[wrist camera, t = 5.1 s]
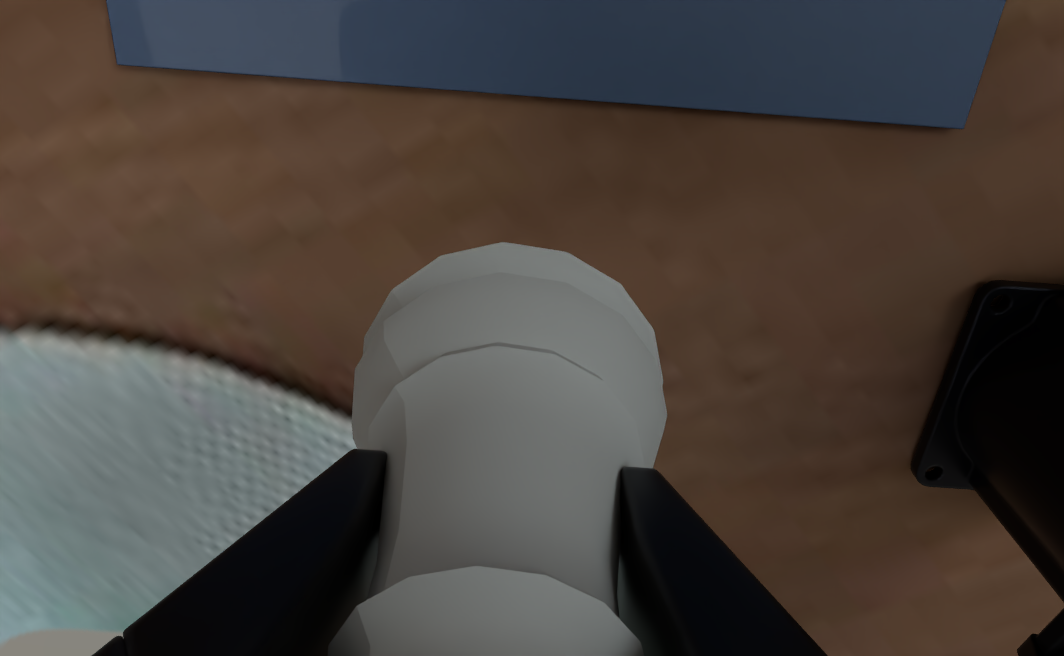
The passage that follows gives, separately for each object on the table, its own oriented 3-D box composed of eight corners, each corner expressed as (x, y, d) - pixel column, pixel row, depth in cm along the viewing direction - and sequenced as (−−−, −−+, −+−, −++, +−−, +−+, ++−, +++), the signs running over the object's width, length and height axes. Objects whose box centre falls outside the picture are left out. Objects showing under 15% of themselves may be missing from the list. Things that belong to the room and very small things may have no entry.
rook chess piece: (308, 373, 11) (-83, 1069, 4) (500, 164, 10) (389, 703, 3) (520, 527, 13) (491, 1251, 6) (720, 363, 11) (1022, 1075, 4)
